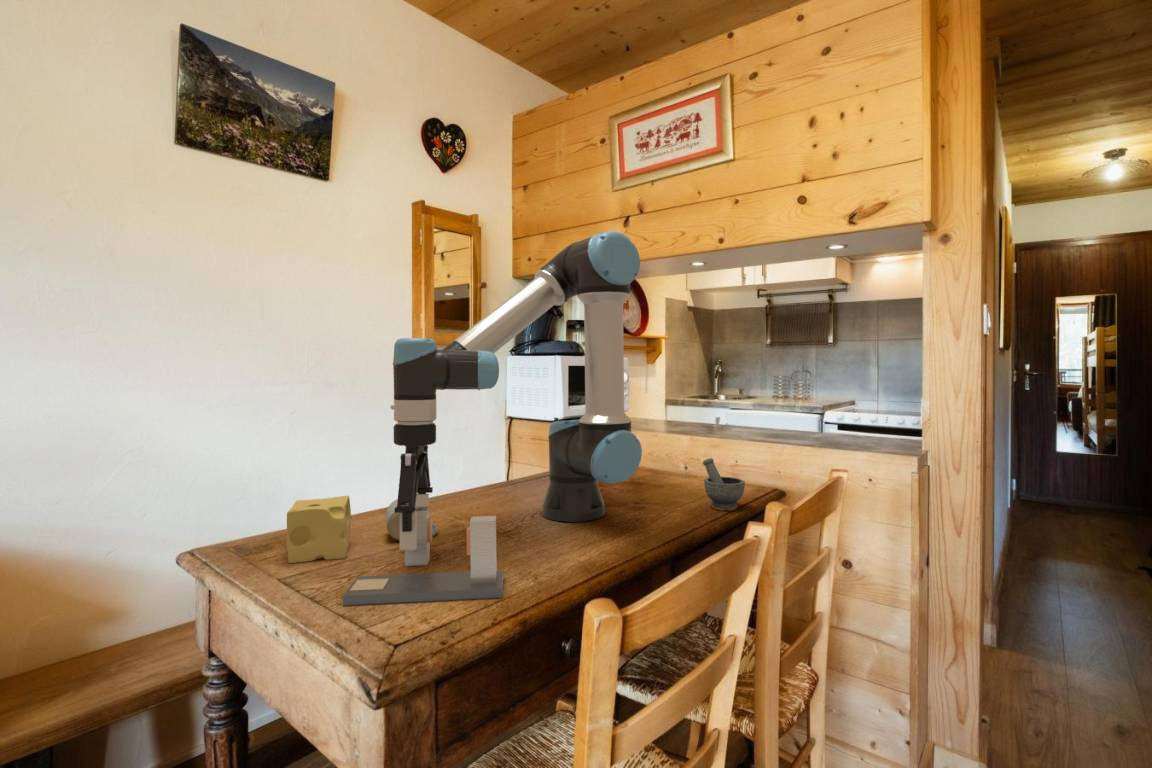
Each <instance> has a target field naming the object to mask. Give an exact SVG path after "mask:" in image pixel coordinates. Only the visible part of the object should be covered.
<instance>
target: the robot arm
mask: <svg viewBox="0 0 1152 768" xmlns="http://www.w3.org/2000/svg"><path fill="white" fill-rule="evenodd" d="M640 258H641V257H640V254H639V251H638V248H637V246H636V244H635V243H634V242H632V240H631V239H630V238H629V237H628V236H627V235H625V234H624V233H621V232H619V231H616V230H615V231H614V230H610V231H609V230H607V231H605V232H598V233H595V234H594V235H592V236H589V237H587V238H584V239H582V240H579V241H575V242H572V243H571V244H569V245H568V246H566V247H565V248H563V249H562V250H561V251H559V252H558V253H557V254H556V255H555V256H553V258H551V259H550V260H549V261H548V262H546V263H545V264H544V265H542V266H541V268H539V269H538V270H537V271H536V272H535V273H534V278H533V279H532V280H531V281H529V282H528V283H527V284H526V285H524V286H522V288H521V289H519V290H518V291H516V292H515V293H514V294H513V295H511V296H510V297H509V298H508V299H506V300H505V301H504V302H502V303H501V304H500V305H498V306H497V307H496V308H495V309H493V310H492V311H491V312H490V313H488V314H487V315H485V316H484V317H483V318H482V319H480V320H479V321H477V322H476V323H475V324H474V325H472V326H471V327H470V328H468V329H467V330H466V331H464V332H463V333H462V334H461V335H459V336H458V337H457V338H455V339H454V340H453V341H452V342H450V343H449V344H448V345H446V346H445V347H443V348H442V349H438V346H437V343H436V340H435V339H433V338H425V337H424V338H423V337H422V338H421V337H405V338H404V337H402V338H398V339H396V340H395V343H394V346H393V359H392V361H393V362H392V365H393V367H392V369H393V371H392V372H393V403H394V404H392V403H391V405H390V409H391V410H393V420H394V421H395V422H397V423H395V424H394V425H393V444H395V445H396V446H399V447H400V446H403V447H405V453H400V471H399V481H398V492H397V493H398V494H397V499H398V502H397V507H396V508H395V513H400V541H399V551H405V550H415V549H416V548H417V546H416V511H415V507H429V508H430V505H429V503H430V502H429V501H430V498H429V497H430V494H432V493H433V491H434V489H433V487H432V486H431V477H430V467H429V466H430V465H429V455H428V451H429V450H428V448H429V447H428V446H430V445H433V444H435V443H436V442H437V425H436V423H434V421H436V420H437V390H440V391H444V390H457V391H458V390H462V391H463V390H478V391H480V390H488V389H489V390H490V389H493V388H494V387H495V386H496V385H497V382H498V381H499V377H500V364H499V360H498V357H497V355H496V354H495V353H497V352H498V351H499V350H501V348H503V347H504V346H505V345H506V344H508V343H509V342H510V341H512V340H513V338H515V337H516V336H518V335H519V334H520V333H521V332H522V331H524V330H525V329H526V328H528V327H529V326H530V325H531V324H533V322H535V321H536V320H538V319H539V318H540V317H541V316H543V315H544V314H545V313H546V312H548V310H550V309H551V308H553V306H562V305H563V304H564V303H565V302H567V301H568V300H570V299H572V298H573V297H575V296H576V297H577V299H578V300H579V301H580V302H582V304H583V307H584V311H583V317H584V321H583V322H584V389H585V390H584V401H585V403H584V404H585V405H584V406H585V408H584V410H585V411H584V414H583V415H582V416H581V417H580V418H578V419H571V420H570V419H569V420H557V421H553V422H552V423H550V424H549V430H548V431H549V432H548V436H547V437H548V438H547V439H548V453H549V454H548V461H549V463H548V465H549V466H548V467H549V482H548V483H549V484H548V486H547V491H546V492H545V493H546V494H545V497H544V499H543V504H542V516H543V517H544V518H546V519H548V520H552V521H556V522H563V521H564V522H566V523H570V522H571V523H581V522H582V521H583V522H590V521H594V520H593V519H595V520H598V519H601V518H602V516H603V515H604V514H606V513H605V512H606V507H605V502H604V499H603V496H602V492H601V490H600V486H599V484H598V482H601V483H605V484H607V483H608V484H620V483H623V482H625V481H627V480H628V479H630V478H631V477H632V476H633V474H634V473H635V472H636V471H637V470H638V468H639V467H640V465H641V464H640V463H641V461H642V456H643V455H642V454H643V451H642V450H643V449H642V444H641V442H640V440H639V439H638V438H637V436H636V435H635V433H633V432H632V419H631V418H630V417H629V416H628V415H627V414H626V413H625V369H624V368H625V365H624V363H625V362H624V361H625V360H624V356H625V355H624V354H625V353H624V349H625V348H624V346H625V345H624V344H625V343H624V304H625V302H626V301H627V300H628V299H629V298H630V297H631V283H632V282H633V281H635V279H636V277H637V276H638V275H639V273H640V270H641V259H640ZM604 516H605V515H604ZM604 516H603V517H604ZM600 517H601V518H600ZM597 518H598V519H597ZM589 520H590V521H589ZM564 522H563V523H564Z"/></svg>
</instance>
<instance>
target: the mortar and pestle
mask: <svg viewBox="0 0 1152 768" xmlns="http://www.w3.org/2000/svg"><path fill="white" fill-rule="evenodd" d="M714 462H715V460H714V458H707V459H704V460H703V461H702V464H703V466H704V467H705V469H706V472H707V474H708V477H707V478H705V479H704V482H703V483H704V491H705V493H706V495H707V498H709V499H710V500H711V507H712V506H713V507H715V508H719V509H726V510H730V511H736V510H737V509H738V504H737V502H738V501H739V500H740V499H741V498H742V497H743V495H744V493H745V486H746V485H745V484H746V481H745V480H744V479H742V478H737V477H729V476H721V475H720V473H719V471H718V469H717V466H716V465H715V463H714ZM736 508H737V509H736ZM735 509H736V510H735Z"/></svg>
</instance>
